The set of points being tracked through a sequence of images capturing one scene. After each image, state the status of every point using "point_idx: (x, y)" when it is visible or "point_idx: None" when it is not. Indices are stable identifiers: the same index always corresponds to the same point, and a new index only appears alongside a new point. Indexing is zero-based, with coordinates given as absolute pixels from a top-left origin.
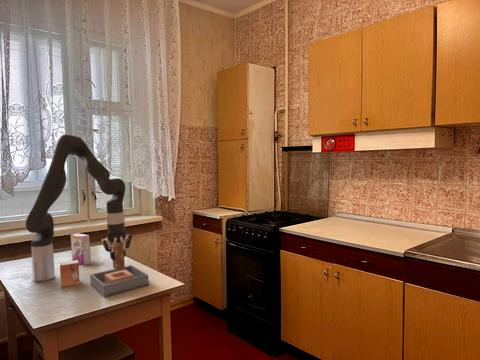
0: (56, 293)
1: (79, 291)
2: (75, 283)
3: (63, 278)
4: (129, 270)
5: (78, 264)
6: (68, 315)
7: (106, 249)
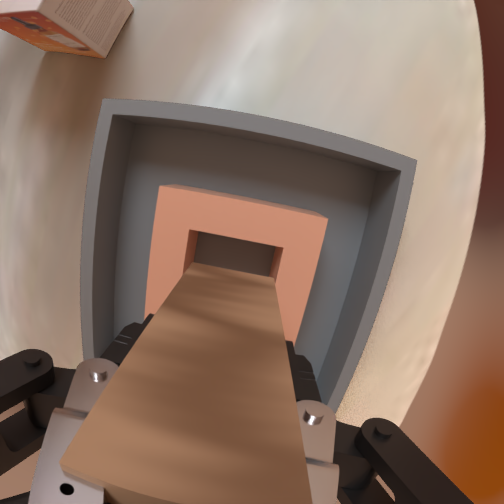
0: (9, 113)
1: (59, 166)
2: (86, 54)
3: (29, 39)
4: (379, 167)
5: (44, 15)
6: (5, 356)
7: (17, 425)
